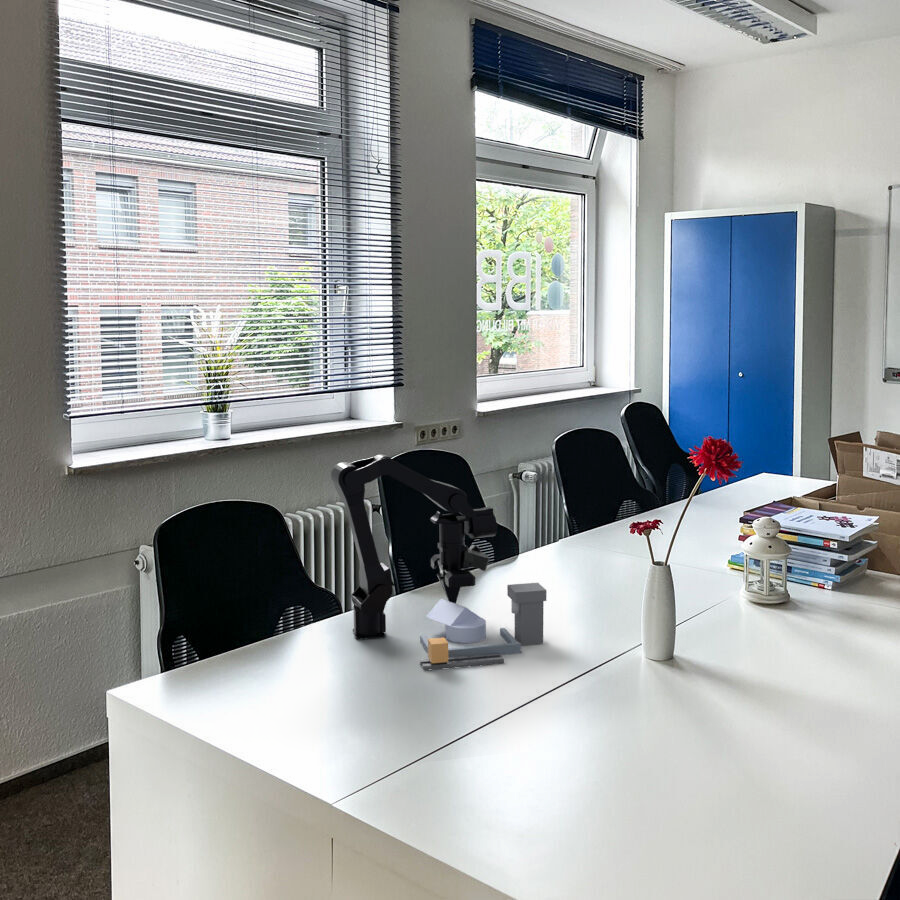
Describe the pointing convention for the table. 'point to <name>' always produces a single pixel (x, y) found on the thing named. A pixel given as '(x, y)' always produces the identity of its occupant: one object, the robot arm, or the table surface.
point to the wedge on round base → (459, 622)
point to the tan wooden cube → (438, 650)
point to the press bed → (526, 623)
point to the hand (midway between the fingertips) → (452, 605)
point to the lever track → (464, 661)
